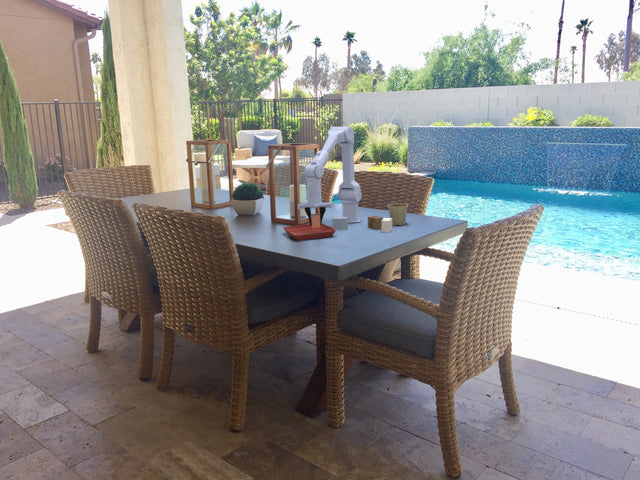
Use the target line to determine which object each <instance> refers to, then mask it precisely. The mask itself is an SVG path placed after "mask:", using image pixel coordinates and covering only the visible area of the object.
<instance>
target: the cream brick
mask: <svg viewBox="0 0 640 480" xmlns="http://www.w3.org/2000/svg"><path fill="white" fill-rule="evenodd" d="M392 230H393V225H392V218H390V217H383V220H382V229H381V233H391V232H392Z"/></svg>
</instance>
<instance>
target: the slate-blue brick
mask: <svg viewBox="0 0 640 480" xmlns="http://www.w3.org/2000/svg"><path fill="white" fill-rule="evenodd" d="M348 224H349V223H348V217H343V216H334V217H333V218H332V225H333V227H332V228H334V229H336V231H339V230H340V231H344V230H345V231H346V230H348V227H349V226H348Z"/></svg>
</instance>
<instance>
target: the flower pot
mask: <svg viewBox="0 0 640 480" xmlns="http://www.w3.org/2000/svg"><path fill="white" fill-rule="evenodd" d="M386 207H387V209H388V212H389V218H392V226H404V225H405V224H406V219H407V218H406V217H407V211H408V207H409V204H407V203H401V202H400V203H390V204H389V203H388V204H387V205H386Z"/></svg>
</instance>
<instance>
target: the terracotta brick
mask: <svg viewBox="0 0 640 480" xmlns="http://www.w3.org/2000/svg"><path fill="white" fill-rule="evenodd" d="M311 222H312V228H320V213H311Z"/></svg>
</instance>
